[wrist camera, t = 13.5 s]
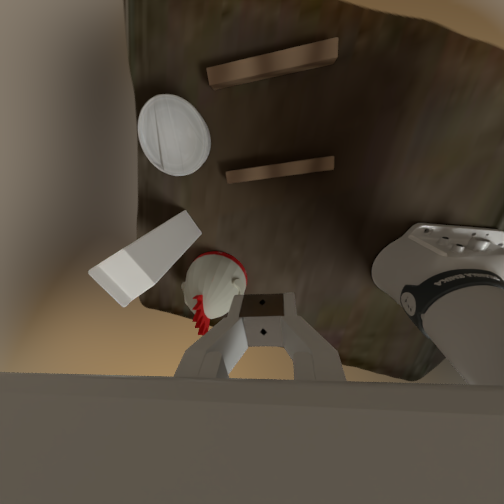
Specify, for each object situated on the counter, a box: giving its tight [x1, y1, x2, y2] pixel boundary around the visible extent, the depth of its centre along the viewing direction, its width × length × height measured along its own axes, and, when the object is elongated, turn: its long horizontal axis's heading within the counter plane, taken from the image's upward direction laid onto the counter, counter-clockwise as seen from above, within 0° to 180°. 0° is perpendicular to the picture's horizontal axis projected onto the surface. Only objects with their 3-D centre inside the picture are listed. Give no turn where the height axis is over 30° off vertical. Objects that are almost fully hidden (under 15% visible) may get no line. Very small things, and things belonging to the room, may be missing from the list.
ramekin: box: [138, 94, 211, 176], centre depth 33 cm, size 11×11×5 cm
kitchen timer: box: [181, 251, 247, 335], centre depth 41 cm, size 14×14×15 cm
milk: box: [88, 210, 202, 307], centre depth 33 cm, size 6×6×22 cm
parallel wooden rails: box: [206, 37, 338, 184], centre depth 32 cm, size 18×16×2 cm
